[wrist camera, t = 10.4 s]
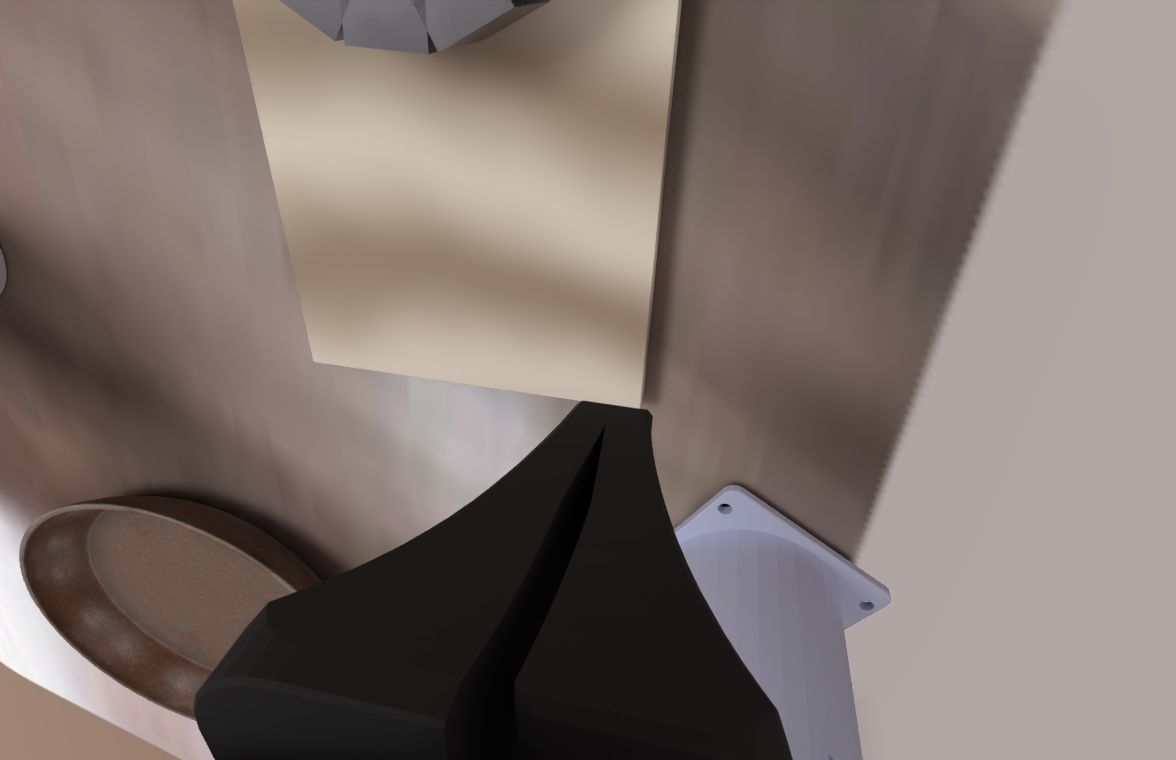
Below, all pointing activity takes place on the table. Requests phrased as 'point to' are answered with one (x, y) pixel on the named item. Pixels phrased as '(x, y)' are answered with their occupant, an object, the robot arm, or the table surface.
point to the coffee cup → (2, 272)
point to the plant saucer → (154, 587)
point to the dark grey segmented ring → (412, 21)
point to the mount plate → (475, 194)
